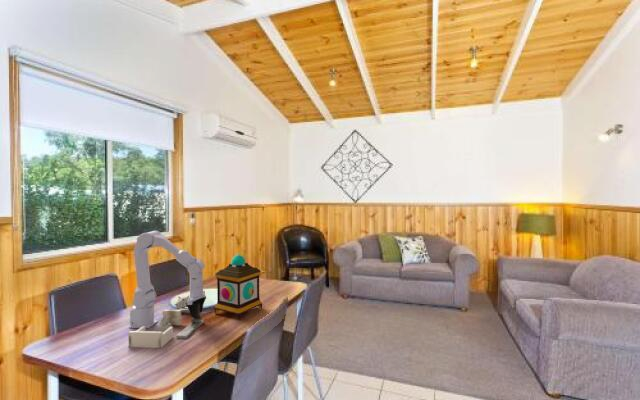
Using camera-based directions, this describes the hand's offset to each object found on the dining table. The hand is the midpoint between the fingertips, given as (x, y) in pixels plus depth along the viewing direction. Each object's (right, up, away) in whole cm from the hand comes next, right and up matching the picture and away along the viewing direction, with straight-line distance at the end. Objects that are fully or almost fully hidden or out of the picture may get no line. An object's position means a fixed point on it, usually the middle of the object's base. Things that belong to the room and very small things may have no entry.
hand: (196, 314), depth 147 cm
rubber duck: (-11, -5, -8) cm, 15 cm away
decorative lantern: (+16, -4, +16) cm, 23 cm away
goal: (-12, -5, -17) cm, 21 cm away
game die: (-13, -5, +16) cm, 21 cm away
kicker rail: (0, -5, -6) cm, 8 cm away
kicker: (-6, -4, 0) cm, 8 cm away
